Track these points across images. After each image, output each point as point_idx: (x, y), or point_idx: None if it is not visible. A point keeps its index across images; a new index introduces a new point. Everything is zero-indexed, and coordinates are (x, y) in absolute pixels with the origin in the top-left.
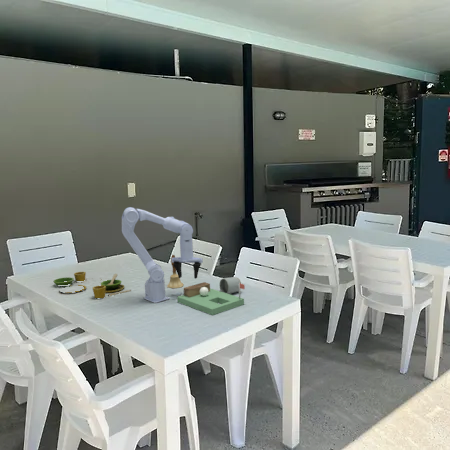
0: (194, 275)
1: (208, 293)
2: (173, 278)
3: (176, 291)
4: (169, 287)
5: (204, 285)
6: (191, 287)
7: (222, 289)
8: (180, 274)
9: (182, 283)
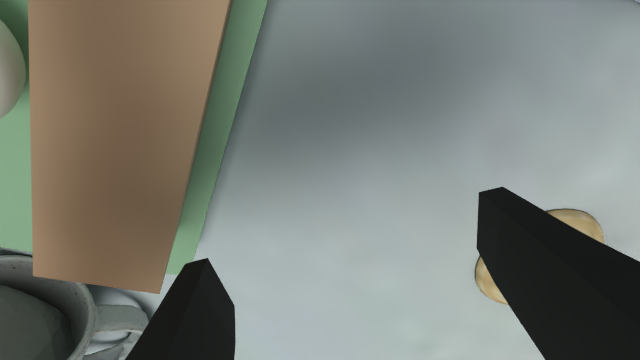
0: (184, 302)
1: (21, 141)
2: None
3: (485, 167)
4: (575, 212)
5: (34, 200)
6: (120, 16)
7: (81, 306)
8: (508, 256)
9: (494, 297)
